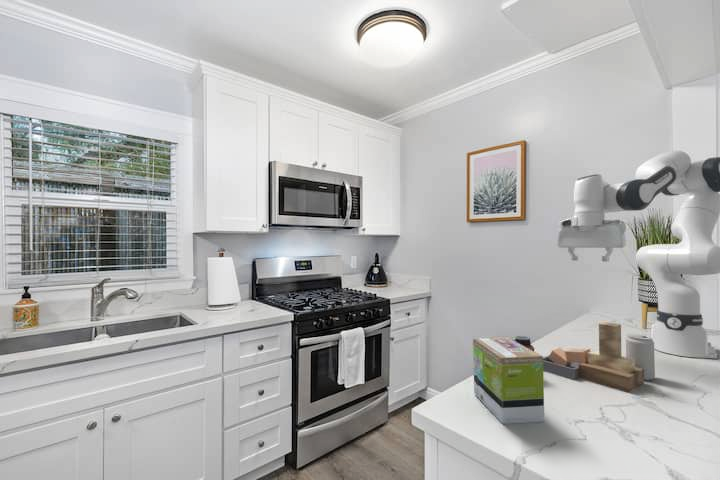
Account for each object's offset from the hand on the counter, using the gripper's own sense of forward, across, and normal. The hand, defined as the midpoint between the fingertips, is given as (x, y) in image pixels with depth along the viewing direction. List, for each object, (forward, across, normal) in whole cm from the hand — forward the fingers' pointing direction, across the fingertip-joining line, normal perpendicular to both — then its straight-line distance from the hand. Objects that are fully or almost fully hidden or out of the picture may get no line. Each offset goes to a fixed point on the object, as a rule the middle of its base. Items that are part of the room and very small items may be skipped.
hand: (589, 261), depth 116 cm
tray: (+33, -1, +19) cm, 38 cm away
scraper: (+29, -12, +19) cm, 37 cm away
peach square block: (+29, 0, +19) cm, 35 cm away
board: (+33, -12, +19) cm, 40 cm away
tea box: (+34, -4, +58) cm, 67 cm away
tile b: (+30, -4, +19) cm, 36 cm away
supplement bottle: (+33, +4, +36) cm, 49 cm away
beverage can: (+33, -16, +9) cm, 38 cm away
